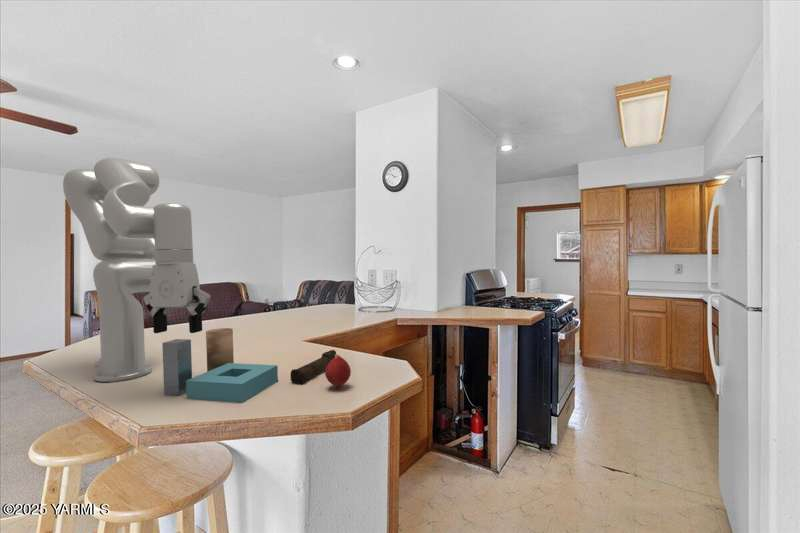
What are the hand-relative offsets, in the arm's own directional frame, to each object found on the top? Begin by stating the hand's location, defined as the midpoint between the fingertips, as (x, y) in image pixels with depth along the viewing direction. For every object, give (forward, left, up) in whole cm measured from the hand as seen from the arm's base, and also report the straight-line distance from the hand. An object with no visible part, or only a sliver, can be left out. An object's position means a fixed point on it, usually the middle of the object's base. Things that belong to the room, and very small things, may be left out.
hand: (178, 332), depth 85 cm
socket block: (+11, +4, -14) cm, 19 cm away
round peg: (0, +13, -14) cm, 19 cm away
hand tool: (+25, +19, -15) cm, 35 cm away
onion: (+35, +9, -14) cm, 39 cm away
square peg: (-1, 0, -14) cm, 14 cm away
